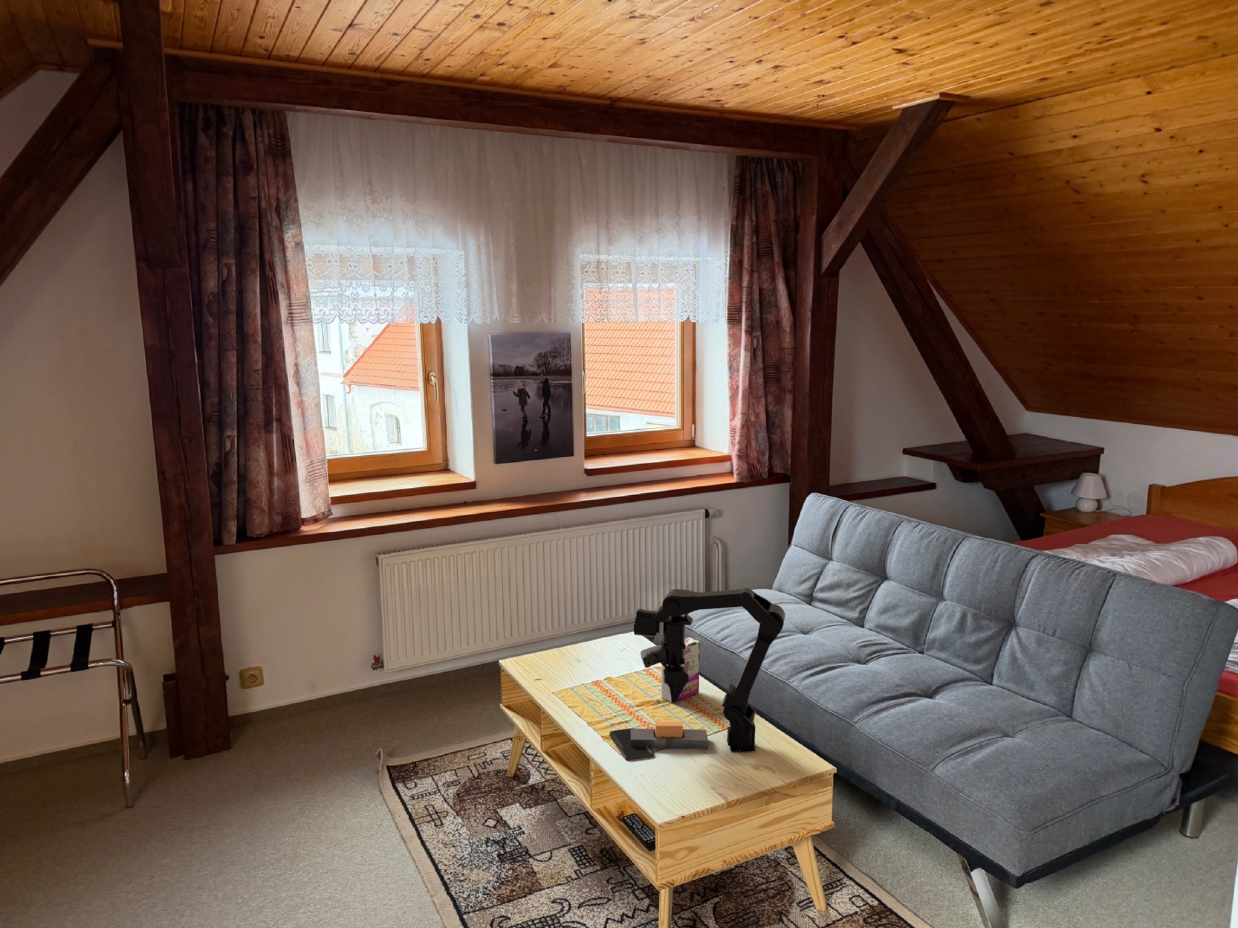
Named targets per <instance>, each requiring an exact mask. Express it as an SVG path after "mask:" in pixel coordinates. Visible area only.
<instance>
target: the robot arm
mask: <svg viewBox="0 0 1238 928" xmlns="http://www.w3.org/2000/svg"><path fill="white" fill-rule="evenodd" d="M729 608H743V609H745V610H746V612H747V613H748V614H749V615H750V616H751V617H752V618H753V619H754V621H756V622H757V623H759V626H758V631H757V637H756V639H755V641H754V644H753V646H752V649H751V651H750V653H749V656H748V658H747V660H746V663H745V665H744V668H743V671H742V673H741V675H740V678H739V680H738V681H737V682H736V684H732V683H729V686H728V689H727V693H726V694H724V698H723V700H722V701H723V702H722V704H721V707H722V708H723V711H722V713H723V716H724V718H725V719H726V720H727V721H729V726H727V729H726V730H727V731H726V733H727V735H726V742H727V746H728V747H729V750H730V752H738V753H739V752H747V753H748V752H749V753H750V752H751V753H755V752H756V751H757V749H756V745H755V742H756V723H755V717H756V710H755V709H754V708H753V707H752V706H751V705H750V704H749V701H750V697H751V696H750V695H751V692H752V691H751V690H752V689H753V687H754V683H755V682H756V679H757V678H758V677H757V676H758V675H759V673H760V670H761V667H762V665H763V663H764V660H765V658H766V655H767V653H768V651H769V649H770V646H771V645H772V644H773V642H774V641H775V640H776V639H777V638H778V636H779V634H780V633H781V632H782V630H783V627H784V625H785V620H786V613H785V611H784V609H783V607H782V606H780V605H779V604H775V603H772V602H771V601H770V600H768V599H767V598H765V597H763V596H761V595H759V594H757V593H756V592H755V591H753V590H752V589H751V588H750V587H744V588H739V589H727V590H726V589H725V590H717V591H716V590H715V591H702V592H699V591H697V592H696V591H692V590H689V589H681V588H674V589H671V590H669V592H668V593H667V594H666V596H665V597H664V599H663V601H662V605H661V606H659V608H658V610H657V611H656V610H649V609H648V610H646V609H643V608H638V609H636V611H635V614H636V615H635V619H634V624H633V634H634V636H643V637H650V638H651V637H652V638H656V637H657V636H658V634H662V638H661V639H660V644H658V645H653V646H651V647H648V648H646V649H642V650H641V651H640V657H641V660H642V663H643V665H644V668H645V669H647V668H651V666H655V665H658V664H661V666H662V665H663V666H664V667H665V669H664V670H663V679H664V683H665V684H667V685H668V687H669V688H670V694H671V700H672V702H673V703H672V704H674V703H677V702H678V701H677V700H678V698H679V696H680V694H681V692H682V690H683V688H684V687H685V685H686V684H687V683H688V682H689V675H688V671H687V669H686V668H685V667H681V664H685V658H684V649H686V645H685V638H686V626H691V625H692V623H693V621H694V619H693V618H692V616H690V615H689V614H691V613H693V612H697V611H701V610H703V611H704V610H717V609H729ZM676 701H677V702H676Z"/></svg>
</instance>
